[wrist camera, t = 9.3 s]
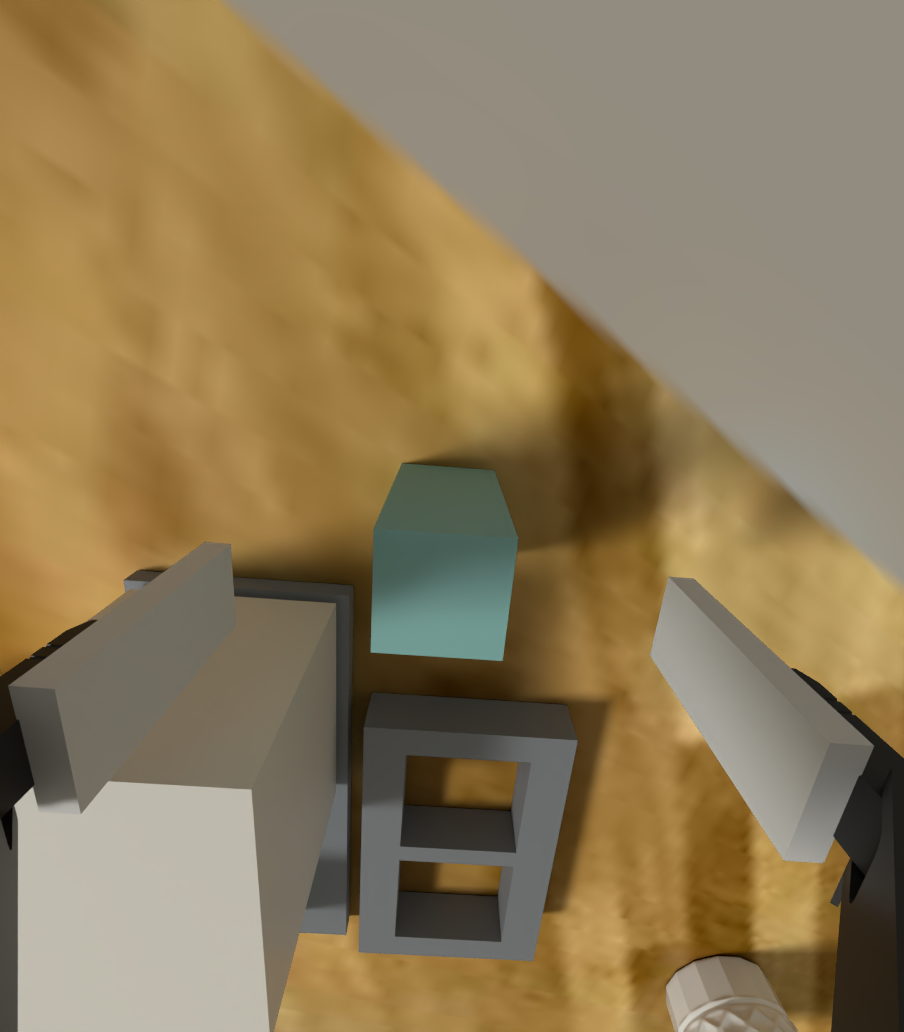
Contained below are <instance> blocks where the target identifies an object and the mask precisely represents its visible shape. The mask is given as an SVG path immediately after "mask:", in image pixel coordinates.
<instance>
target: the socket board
mask: <svg viewBox="0 0 904 1032" xmlns="http://www.w3.org/2000/svg"><path fill="white" fill-rule="evenodd" d="M577 743H578V739H577V736H576V733H575V730H574V726H573V723H572V720H571V717H570V714H569V711H568V708H567V705H562V704H546V703H530V702H515V701H499V700H483V699H468V698H452V697H436V696H421V695H405V694H389V693H374V692H372V694H371V699H370V703H369V707H368V711H367V716H366V720H365V724H364V742H363V786H362V829H361V873H360V916H359V952H364V953H384V954H404V955H424V956H443V957H463V958H483V959H503V960H523V961H533V958H534V953H535V949H536V944H537V939H538V934H539V929H540V924H541V919H542V914H543V909H544V904H545V900H546V895H547V890H548V885H549V880H550V875H551V870H552V865H553V860H554V855H555V851H556V846H557V841H558V836H559V831H560V826H561V821H562V816H563V811H564V806H565V801H566V797H567V792H568V787H569V782H570V777H571V772H572V767H573V762H574V757H575V752H576V748H577ZM407 755H412V756H428V757H445V758H461V759H478V760H494V761H511V762H518V769H517V775H516V782H515V788H514V794H513V801H512V807H511V811H499V810H482V809H465V808H447V807H430V806H413V805H404V804H405V788H406V772H407ZM401 861H420V862H438V863H456V864H474V865H492V866H502V871H501V877H500V884H499V890H498V896H497V897H495V896H476V895H458V894H439V893H420V892H402V891H399V887H400V870H401Z"/></svg>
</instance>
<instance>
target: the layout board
mask: <svg viewBox="0 0 904 1032" xmlns="http://www.w3.org/2000/svg"><path fill="white" fill-rule="evenodd" d="M162 573H163V572H153V571H138V570H137V571H136V572H134V573H133V574H132V575H130V576H129V577H127V578H126V579H125V580H124V586H125V592H127V591H128V590H130V589H134V590H140V589H141V588H143V587H144V586H145V585H147V584H148V583H149V582H151V581H152V580H153V579H155V578H156V577H158V576H159V575H160V574H162ZM233 586H234V596H236V597H251V598H265V599H280V600H295V601H309V602H324V603H336V794H335V798H334V802H333V806H332V810H331V814H330V817H329V821H328V825H327V829H326V833H325V837H324V840H323V844H322V848H321V852H320V856H319V860H318V863H317V867H316V871H315V875H314V879H313V883H312V886H311V890H310V894H309V898H308V902H307V906H306V909H305V913H304V917H303V921H302V925H301V929H300V932H299V933H318V934H338V935H346V932H347V927H348V921H349V904H350V827H351V749H352V672H353V595H354V585H340V584H326V583H311V582H297V581H282V580H268V579H254V578H239V577H233Z"/></svg>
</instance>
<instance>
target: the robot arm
mask: <svg viewBox="0 0 904 1032" xmlns="http://www.w3.org/2000/svg"><path fill="white" fill-rule="evenodd" d="M235 627H236V615H235V600H234V586H233V571H232V556H231V544H224V543H211V542H204V543H203V544H201V545H200V546H199V547H197V548H196V549H195V550H193V551H192V552H190V553H189V554H188V555H186V556H185V557H184V558H182V559H181V560H179V561H178V562H177V563H175V564H174V565H173V566H171V567H170V568H169V569H167V570H166V571H164V572H163V573H162V574H160V575H159V576H158V577H156V578H155V579H153V580H152V581H151V582H149V583H148V584H147V585H145V586H144V587H143V588H141V589H140V590H138V591H137V592H136V593H134V594H133V595H132V596H130V597H129V598H127V599H126V600H125V601H123V602H122V603H121V604H119V605H118V606H117V607H115V608H114V609H112V610H111V611H110V612H108V613H107V614H106V615H104V616H103V617H102V618H100V619H99V620H90V621H87V622H85V623H83V624H81V625H78V626H76V627H74V628H71V629H69V630H67V631H65V632H64V633H62V634H61V635H59V636H58V637H57V638H55V639H54V640H52V641H51V642H49V643H48V644H47V646H46V647H42V648H41V649H39V650H38V651H36V652H35V653H34V654H32V655H31V657H30V659H25V660H24V661H22V662H21V663H19V664H18V665H16V666H15V667H14V668H12V669H11V670H9V671H8V672H6V673H5V674H4V675H2V676H1V677H0V1032H18V818H17V814H16V810H15V806H14V805H15V804H16V803H17V802H18V801H19V800H20V799H21V798H22V797H23V796H24V795H25V794H26V793H27V792H28V791H29V790H30V789H31V788H32V787H33V790H34V794H35V798H36V802H37V806H38V810H39V812H50V813H66V814H82V813H83V811H84V810H85V809H86V808H87V806H88V805H89V804H90V803H91V802H92V800H93V799H94V798H95V797H96V796H97V794H98V793H99V792H100V791H101V789H102V788H103V787H104V786H105V785H106V783H107V782H108V781H109V780H110V779H111V777H112V776H113V775H114V774H115V772H116V771H117V770H118V769H119V768H120V766H121V765H122V764H123V763H124V761H125V760H126V759H127V758H128V757H129V755H130V754H131V753H132V752H133V751H134V749H135V748H136V747H137V746H138V744H139V743H140V742H141V741H142V740H143V738H144V737H145V736H146V735H147V734H148V732H149V731H150V730H151V729H152V727H153V726H154V725H155V724H156V723H157V721H158V720H159V719H160V718H161V716H162V715H163V714H164V713H165V712H166V710H167V709H168V708H169V707H170V706H171V704H172V703H173V702H174V701H175V699H176V698H177V697H178V696H179V695H180V693H181V692H182V691H183V690H184V689H185V687H186V686H187V685H188V684H189V682H190V681H191V680H192V679H193V678H194V676H195V675H196V674H197V673H198V672H199V670H200V669H201V668H202V667H203V665H204V664H205V663H206V662H207V661H208V659H209V658H210V657H211V656H212V654H213V653H214V652H215V651H216V650H217V648H218V647H219V646H220V645H221V644H222V642H223V641H224V640H225V639H226V637H227V636H228V635H229V634H230V633H231V631H232V630H233V629H234V628H235ZM650 656H651V658H652V659H653V661H654V662H655V664H656V665H657V667H658V669H659V670H660V672H661V673H662V675H663V676H664V678H665V679H666V681H667V682H668V684H669V685H670V687H671V688H672V690H673V692H674V693H675V695H676V696H677V698H678V699H679V701H680V702H681V704H682V705H683V707H684V708H685V710H686V711H687V713H688V715H689V716H690V718H691V719H692V721H693V722H694V724H695V725H696V727H697V728H698V730H699V731H700V733H701V734H702V736H703V738H704V739H705V741H706V742H707V744H708V745H709V747H710V748H711V750H712V751H713V753H714V754H715V756H716V757H717V759H718V760H719V762H720V764H721V765H722V767H723V768H724V770H725V771H726V773H727V774H728V776H729V777H730V779H731V780H732V782H733V783H734V785H735V787H736V788H737V790H738V791H739V793H740V794H741V796H742V797H743V799H744V800H745V802H746V803H747V805H748V806H749V808H750V810H751V811H752V813H753V814H754V816H755V817H756V819H757V820H758V822H759V823H760V825H761V826H762V828H763V829H764V831H765V833H766V834H767V836H768V837H769V839H770V840H771V842H772V843H773V845H774V846H775V848H776V849H777V851H778V852H779V854H780V855H781V857H782V859H783V860H784V861H799V862H815V863H824V861H825V859H826V857H827V854H828V852H829V850H830V847H831V845H832V843H833V840H834V838H835V839H836V840H837V842H838V843H839V844H840V845H841V847H842V848H843V849H844V850H845V852H846V853H847V854H848V856H849V857H850V860H849V862H848V864H847V866H846V869H845V871H844V873H843V875H842V877H841V880H840V882H839V884H838V886H837V888H836V891H835V893H834V895H833V897H832V900H831V902H830V903H832V904H833V905H835V906H837V907H838V905H839V904H840V902H841V912H840V924H839V937H838V950H837V963H836V976H835V989H834V1002H833V1015H832V1027H831V1032H904V758H903V757H901V756H900V755H899V754H898V753H897V752H896V751H895V750H894V749H893V748H891V747H890V746H889V745H888V744H887V743H886V742H885V741H884V740H882V739H881V738H880V737H879V736H878V735H877V734H876V733H875V732H873V731H872V730H871V729H870V728H869V727H868V726H867V725H866V724H865V723H863V722H862V721H861V720H860V719H859V718H858V717H857V716H856V715H852V712H851V711H850V710H849V709H848V708H847V707H846V706H844V705H843V704H842V703H841V702H837V698H835V697H834V696H833V695H832V694H831V693H830V692H829V691H828V690H827V689H825V688H824V687H823V686H822V685H821V684H820V683H818V682H817V681H815V680H813V679H812V678H810V677H808V676H807V675H805V674H803V673H802V672H800V671H798V670H797V669H793V668H790V667H789V666H787V665H786V664H785V663H784V662H783V661H782V660H781V659H780V658H779V657H778V656H777V655H776V654H774V653H773V652H772V651H771V650H770V649H769V648H768V647H767V646H766V645H765V644H764V643H763V642H762V641H760V640H759V639H758V638H757V637H756V636H755V635H754V634H753V633H752V632H751V631H750V630H749V629H748V628H746V627H745V626H744V625H743V624H742V623H741V622H740V621H739V620H738V619H737V618H736V617H735V616H733V615H732V614H731V613H730V612H729V611H728V610H727V609H726V608H725V607H724V606H723V605H722V604H721V603H719V602H718V601H717V600H716V599H715V598H714V597H713V596H712V595H711V594H710V593H709V592H708V591H707V590H705V589H704V588H703V587H702V586H701V585H700V584H699V583H698V582H697V581H696V580H695V579H692V578H678V577H668V581H667V586H666V590H665V594H664V598H663V603H662V607H661V611H660V615H659V619H658V624H657V628H656V632H655V636H654V641H653V645H652V649H651V653H650Z"/></svg>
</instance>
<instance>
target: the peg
mask: <svg viewBox="0 0 904 1032" xmlns="http://www.w3.org/2000/svg"><path fill="white" fill-rule="evenodd" d="M517 547H518V536H517V533H516V530H515V527H514V525H513V522H512V519H511V516H510V513H509V510H508V507H507V505H506V502H505V499H504V496H503V493H502V490H501V488H500V485H499V482H498V479H497V476H496V473H495V471H494V470H485V469H471V468H458V467H445V466H431V465H418V464H404V463H402V464H401V467H400V469H399V471H398V474H397V476H396V478H395V481H394V483H393V485H392V487H391V490H390V492H389V494H388V497H387V499H386V501H385V504H384V506H383V508H382V511H381V513H380V515H379V518H378V520H377V522H376V524H375V527H374V539H373V579H372V618H371V653H386V654H402V655H417V656H433V657H449V658H464V659H480V660H495V661H503V654H504V647H505V639H506V631H507V623H508V616H509V608H510V600H511V593H512V585H513V577H514V570H515V562H516V554H517Z"/></svg>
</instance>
